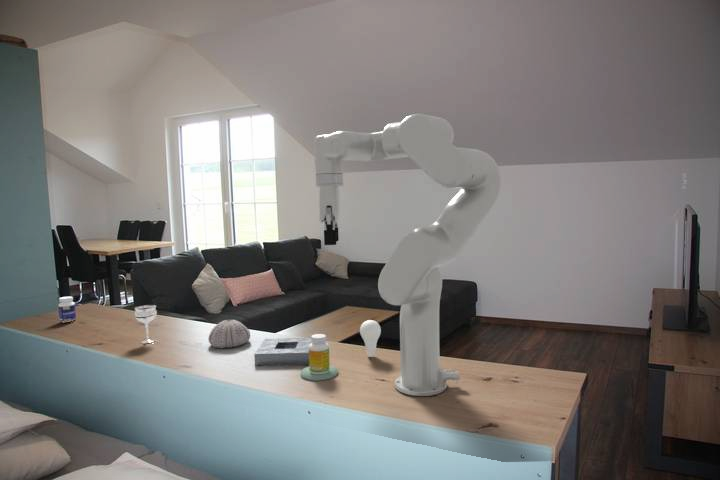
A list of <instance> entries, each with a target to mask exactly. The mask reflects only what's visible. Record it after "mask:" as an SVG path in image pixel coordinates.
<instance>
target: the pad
mask: <svg viewBox="0 0 720 480" xmlns="http://www.w3.org/2000/svg"><path fill="white" fill-rule="evenodd" d="M338 373H339V370H338V368H337V367H336V366H334V365H330V370H329V372H328V373H325V374H312V373H311V372H310V369H309V366H307V367H304V368H302V370H300V377H301V378H302V379H304V380H306V381H310V382H313V381H314V382H322V381H327V380H332V379H333V378H335V377H336V376H338Z"/></svg>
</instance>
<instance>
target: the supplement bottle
mask: <svg viewBox="0 0 720 480" xmlns="http://www.w3.org/2000/svg"><path fill="white" fill-rule="evenodd" d="M310 338H311V342H312V343H311V344H310V345H309V365H308V367H309V369H310V372H311V373H312V374H325V373H328V372H329V370H330V366H331V364H330V344H329V343H328V342H327V335H326V334H323V333H316V334H315V333H314V334H312V335H311V337H310Z"/></svg>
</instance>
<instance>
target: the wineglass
mask: <svg viewBox="0 0 720 480" xmlns="http://www.w3.org/2000/svg"><path fill="white" fill-rule="evenodd" d="M156 308H157V305H155V304H145V305H139V306H135V307H134V311H135V312H134V317H135V319H136V320H137V321H138V322H140V323H143V324H144V325H145V333H146V334H145V335H146V339H145V340H143V341H141V342H142V343H151V342H154V340H155V339H149V324H150V323H151V322H152V321H154V319H155V318H156V317H157V315H158V312H157V309H156Z"/></svg>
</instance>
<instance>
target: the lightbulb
mask: <svg viewBox="0 0 720 480" xmlns="http://www.w3.org/2000/svg"><path fill="white" fill-rule="evenodd" d="M381 332H382V329H381V326H380V324H379V323H378V322H377V321H375V320H372V319H368V320H366V321H364V322H362V323H361V325H360V327H359V334H360V336H361V338H362V340H363V342H364V345H365V350H366V356H367V357H369V358H373V357H375V355H376V349H377V345H378V344H377V343H378V340H379V338H380V336H381V334H382V333H381Z"/></svg>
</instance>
